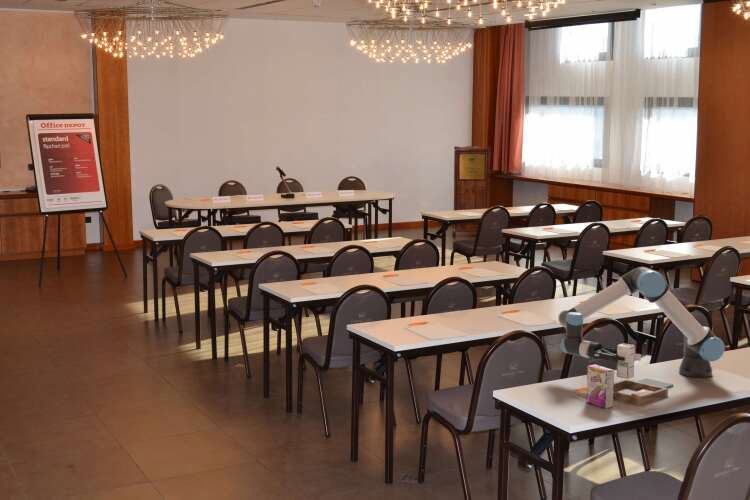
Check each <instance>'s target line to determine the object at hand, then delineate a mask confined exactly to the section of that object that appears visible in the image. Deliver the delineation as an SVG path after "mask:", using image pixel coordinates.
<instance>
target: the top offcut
mask: <svg viewBox="0 0 750 500" xmlns="http://www.w3.org/2000/svg"><path fill="white" fill-rule="evenodd" d="M652 392H653V391H648V390H644V389H643V390H637V391H635V392H632V393H631V396H635V397H640V396H643V395H646V394H649V393H652Z"/></svg>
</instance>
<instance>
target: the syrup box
mask: <svg viewBox="0 0 750 500" xmlns="http://www.w3.org/2000/svg"><path fill="white" fill-rule="evenodd" d="M616 349H617V355H618V356H619V354H620V355H625V356H630V357H632V363H627V362H622V361H618V362H616V377H617V378H621V379H628V380H630V379H631V378H634V377H635V360H634V356H635V353H636V346H635V344H629V343H625V342H624V343H620V344H619V343H618V345H617V348H616Z"/></svg>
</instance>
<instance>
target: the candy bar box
mask: <svg viewBox="0 0 750 500" xmlns="http://www.w3.org/2000/svg"><path fill="white" fill-rule="evenodd" d="M586 369H587V371H586V373H587V374H586V375H587V376H586V401H585V402H586V403H587V404H589V405H593V406H596V407H598V408H602V409H604V410H605V409H612V408H613V407H614V400H613V387H614V381H615V370H614V369H612V368H609V367H605V366H602V365H598V364H589V365H587V368H586Z"/></svg>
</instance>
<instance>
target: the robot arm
mask: <svg viewBox="0 0 750 500" xmlns="http://www.w3.org/2000/svg"><path fill="white" fill-rule="evenodd" d="M670 287H671V286H670V285H669V283H667V281H666V280H665V277H664V275H662V274H661V273H660V272H658V271H657V270H654V269H651V268H648V267H647V266H639V267H636V268H634V269H631V270H630V271H628V272H627V273H624V275H621V276H620V277H619V278H618V280H617V281H616V282H614V283H612V284H610V285H609V286H607V287H606V288H604V289H602V290H599V291H598V292H597V293H595V294H594V295H592V296H590V297H588V298H587V299H585V300H584V301H582V302H580V303H578V304H577V305H575V306H573V307H572V308H570V309H568V310H567V309H566V310H561V312H559V314H558V318H557V319H558V322H559V324H560V325H561V326H562V327H564V329H565V331H566V332H565V334H566V335H565V336H564V337H562V339H561V341H560V345H559V347H560V350H561V351H562V352H563V353H565V354H569V355H573V356H578V357H584V358H585V359H588V358H589V359H593V360H601V359H602V360H606V361H611V362H615V363H617V362H618V361H622V362H627V363H632V357H630V356H625V355H620V354H619V356H618V355H617V349H618V348H617V347H610V348H609V347H604V346H603V344H602V343H600V342H595V341H592V340H591V341H590V340H585V339H583V337H584V336H583V333H584V332H583V331H584V327H583V326H584V320H586V319H588V318H590V317H592V316H593V315H594V314H596V313H598V312H599V311H602V310H603V309H605V308H606V307H608V306H611V304H614V302H616V301H619V300H620V299H621V298H624V297H626V296H627V295H629V296H631V295H633V294H634V293H638V292H639V293H640V294H641V295H642V296H643V297H644V298H645V299H646V300H647V301H648V302H649V303H650V304H653V303H654V304H655V305H656V306H657V307H658V308H659V309H660V310H661V311H662V313H664V315H665V316H666V317H667V319H670V321H671V322H672V323H673V324H674V326H676V327H677V328H678V330H680V332H681V333H682V334H683V336H684V337H683V357H682V360H681V361H680V365H679V368H678V372H679V374H680V375H683V376H686V377H691V378H707V377H706V376H710V375H712V376H713V369H712V368H713V367H712V365H711V362H715V361H718V360H720V359H721V358H722V357H723V355H724V353H725V349H726V346H725V343H724V341H723V340H722V339H721V338H720V337H718V336H716V335H715V333H714V332H712V330H711V328H710V327H708V326H703V325H701V323H700V322H699V321H698V320H697V319H696V318H695V317H694V315H692V313H690V312H689V310H688V309H687V308H686V307H685V306H684V305H683V304H682V302H680V301H679V300H678V299H677V297H676V296H675V295H674V294H673V293H672V292H671V291H670V290H671V289H670ZM634 361H638V362H641V361H642V354H641V353H636V352H635V356H634ZM710 377H711V376H710Z"/></svg>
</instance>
